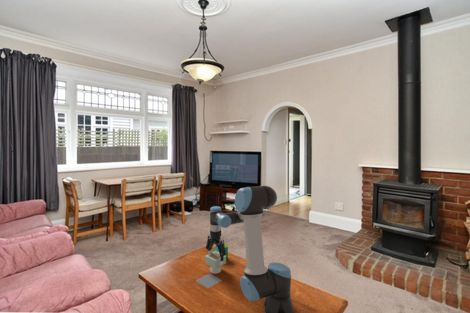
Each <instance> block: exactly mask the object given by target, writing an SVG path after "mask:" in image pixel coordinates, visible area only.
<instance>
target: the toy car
mask: <svg viewBox="0 0 470 313" xmlns="http://www.w3.org/2000/svg"><path fill="white" fill-rule="evenodd" d="M224 246H225V252H226V255H225V256H226V260H228V259H229V247H228V246H227V245H226V243H224ZM215 251H217V252H219V251H218V248H217V246H216V245H215V247H214V250H212V253H213V252H215ZM206 255H208V253H207V254H206Z"/></svg>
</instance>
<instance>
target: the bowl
mask: <svg viewBox="0 0 470 313" xmlns="http://www.w3.org/2000/svg"><path fill="white" fill-rule="evenodd" d="M221 272H222V265H221V266H219V267H217V268H213V267H211V266H209V273H210V274H213V275H214V274H219V273H221Z"/></svg>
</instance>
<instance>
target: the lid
mask: <svg viewBox="0 0 470 313" xmlns="http://www.w3.org/2000/svg"><path fill="white" fill-rule="evenodd" d="M207 254H208V253H207ZM207 254H206V255H204V264H206V265H208V266H209V267H210V266H211V267H213V268H217V267H219V256H220V254H219V252H217V251H215V252H213V253H211V254H208V255H207ZM225 264H227V259H226V256H224V260H223V265H225Z"/></svg>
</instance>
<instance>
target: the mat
mask: <svg viewBox="0 0 470 313" xmlns="http://www.w3.org/2000/svg"><path fill="white" fill-rule="evenodd" d="M194 280H195V282H197V283H198V284H200V285H202V286H203V287H205V288H207V289H210V288H211V287H213V286H215V285H217V284H219V283H221V282H222V281H223V279H221V278H219V277H217V276H215V275H214V274H213V273H211V272H209V273H207V274H206V275H204V276H201V277H199V278H198V279H194Z"/></svg>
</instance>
